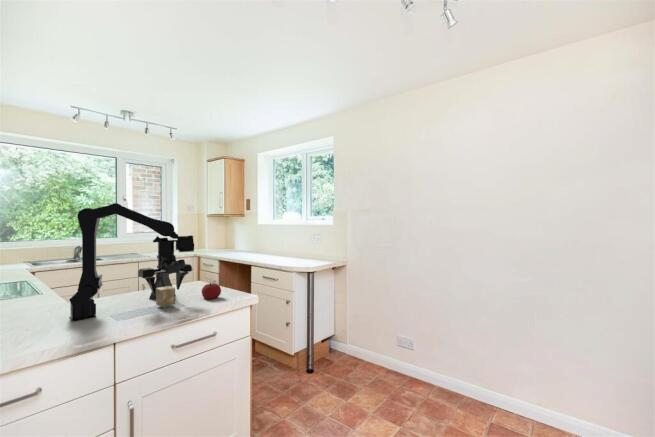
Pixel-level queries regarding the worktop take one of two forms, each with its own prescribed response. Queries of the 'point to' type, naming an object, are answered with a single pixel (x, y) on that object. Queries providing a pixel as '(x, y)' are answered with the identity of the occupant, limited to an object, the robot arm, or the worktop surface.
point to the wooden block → (165, 296)
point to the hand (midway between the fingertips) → (166, 291)
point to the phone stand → (161, 282)
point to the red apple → (211, 291)
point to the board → (143, 311)
